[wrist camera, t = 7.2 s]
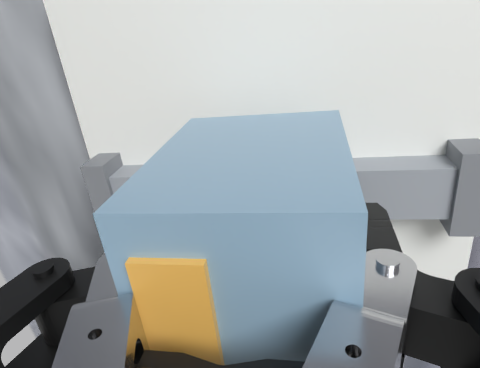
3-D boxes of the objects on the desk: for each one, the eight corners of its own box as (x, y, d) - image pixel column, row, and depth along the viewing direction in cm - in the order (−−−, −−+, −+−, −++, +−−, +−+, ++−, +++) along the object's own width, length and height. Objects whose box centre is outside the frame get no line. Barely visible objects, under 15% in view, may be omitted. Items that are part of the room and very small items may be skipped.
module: (191, 118, 13) (86, 219, 7) (338, 110, 12) (370, 218, 6) (217, 277, 16) (159, 445, 10) (336, 280, 15) (355, 470, 9)
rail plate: (56, -9, 14) (10, -11, 12) (519, -73, 11) (571, -92, 9) (144, 303, 21) (124, 338, 19) (446, 317, 18) (466, 361, 16)
